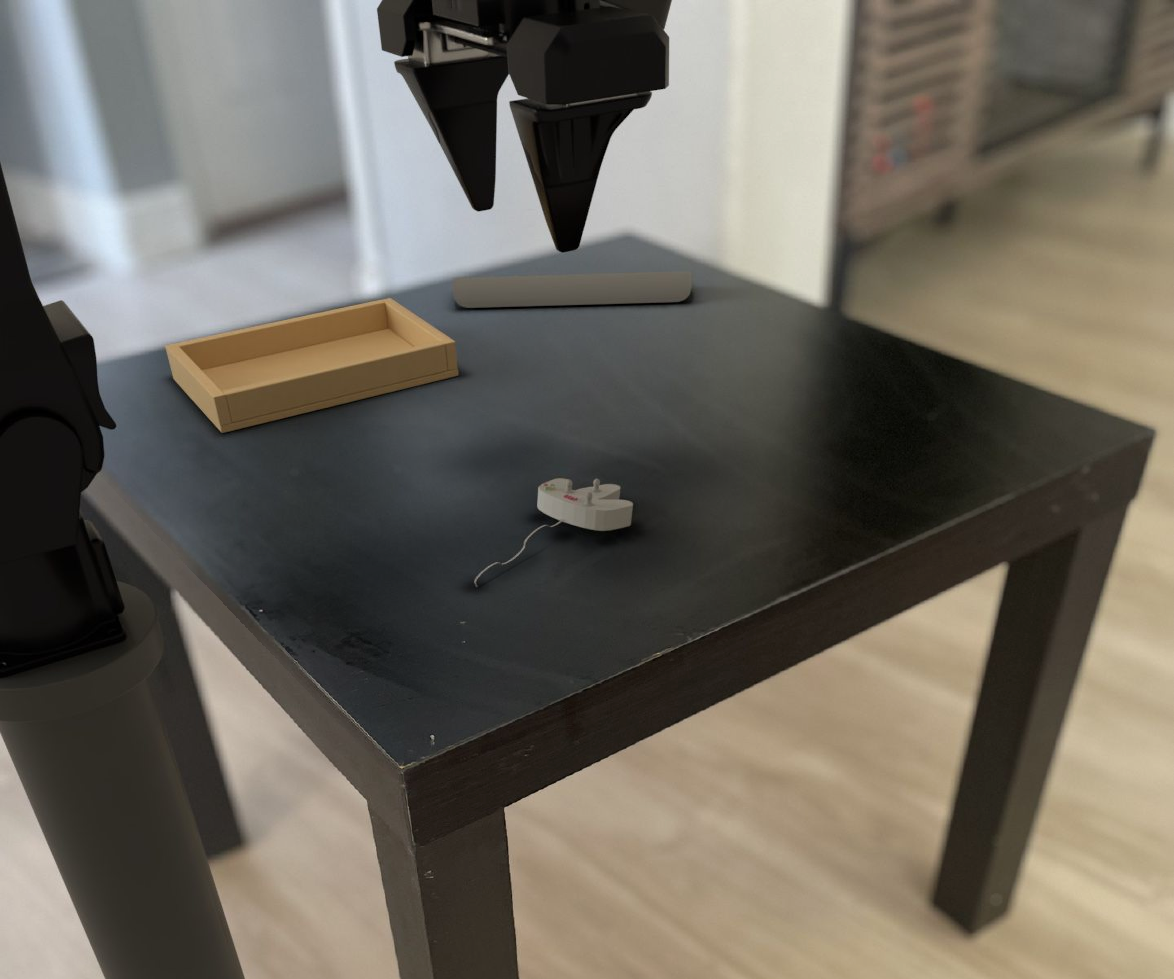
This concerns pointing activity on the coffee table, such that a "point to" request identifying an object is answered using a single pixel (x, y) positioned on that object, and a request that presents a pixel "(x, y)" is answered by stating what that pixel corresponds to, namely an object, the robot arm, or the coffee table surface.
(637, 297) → the gray half cylinder
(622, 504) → the game controller
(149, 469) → the coffee table surface
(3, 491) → the robot arm
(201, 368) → the serving tray
